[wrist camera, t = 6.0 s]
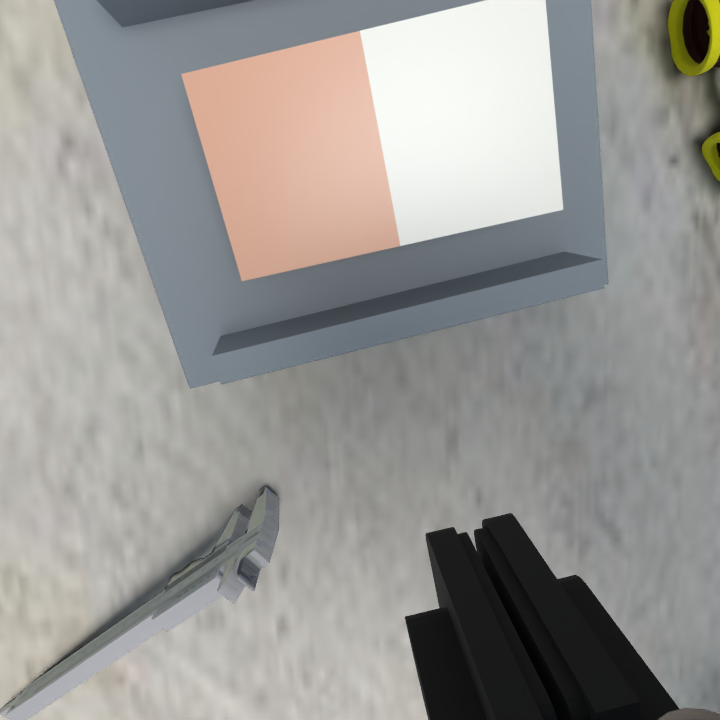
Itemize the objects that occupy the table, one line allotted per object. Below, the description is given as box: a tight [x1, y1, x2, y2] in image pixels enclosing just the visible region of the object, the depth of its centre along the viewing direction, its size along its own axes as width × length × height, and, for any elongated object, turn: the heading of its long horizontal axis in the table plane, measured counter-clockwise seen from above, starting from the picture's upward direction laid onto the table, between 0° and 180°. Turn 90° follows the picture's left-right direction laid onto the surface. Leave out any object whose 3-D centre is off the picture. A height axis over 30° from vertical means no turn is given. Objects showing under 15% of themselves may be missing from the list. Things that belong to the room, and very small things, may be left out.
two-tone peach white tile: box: [181, 0, 563, 281], centre depth 19 cm, size 12×7×1 cm, turn 102°
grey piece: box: [54, 0, 608, 389], centre depth 21 cm, size 20×16×5 cm
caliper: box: [0, 487, 279, 720], centre depth 26 cm, size 20×1×6 cm, turn 131°
